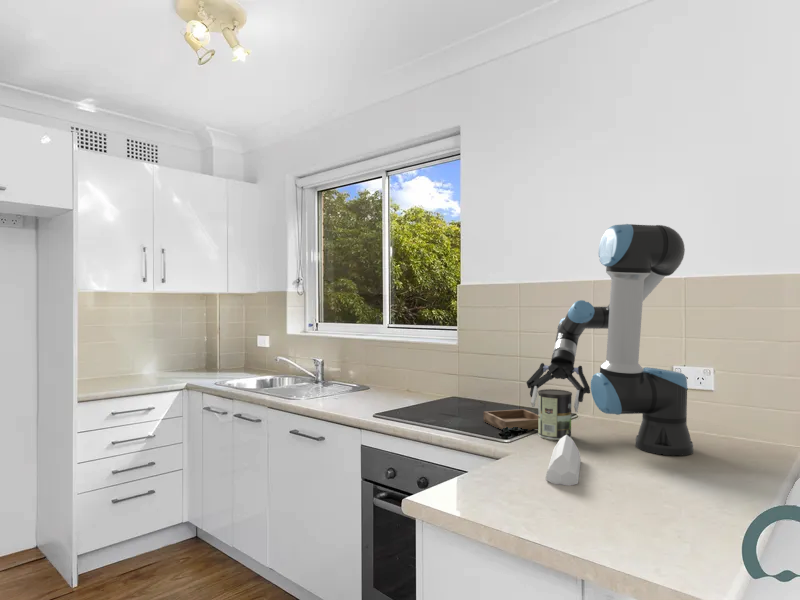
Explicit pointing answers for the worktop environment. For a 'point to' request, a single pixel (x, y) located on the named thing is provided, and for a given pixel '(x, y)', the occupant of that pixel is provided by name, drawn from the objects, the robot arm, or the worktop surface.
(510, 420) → the tray
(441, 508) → the worktop surface
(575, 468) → the crystal
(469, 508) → the worktop surface
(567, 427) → the coffee can
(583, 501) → the worktop surface
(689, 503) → the worktop surface
